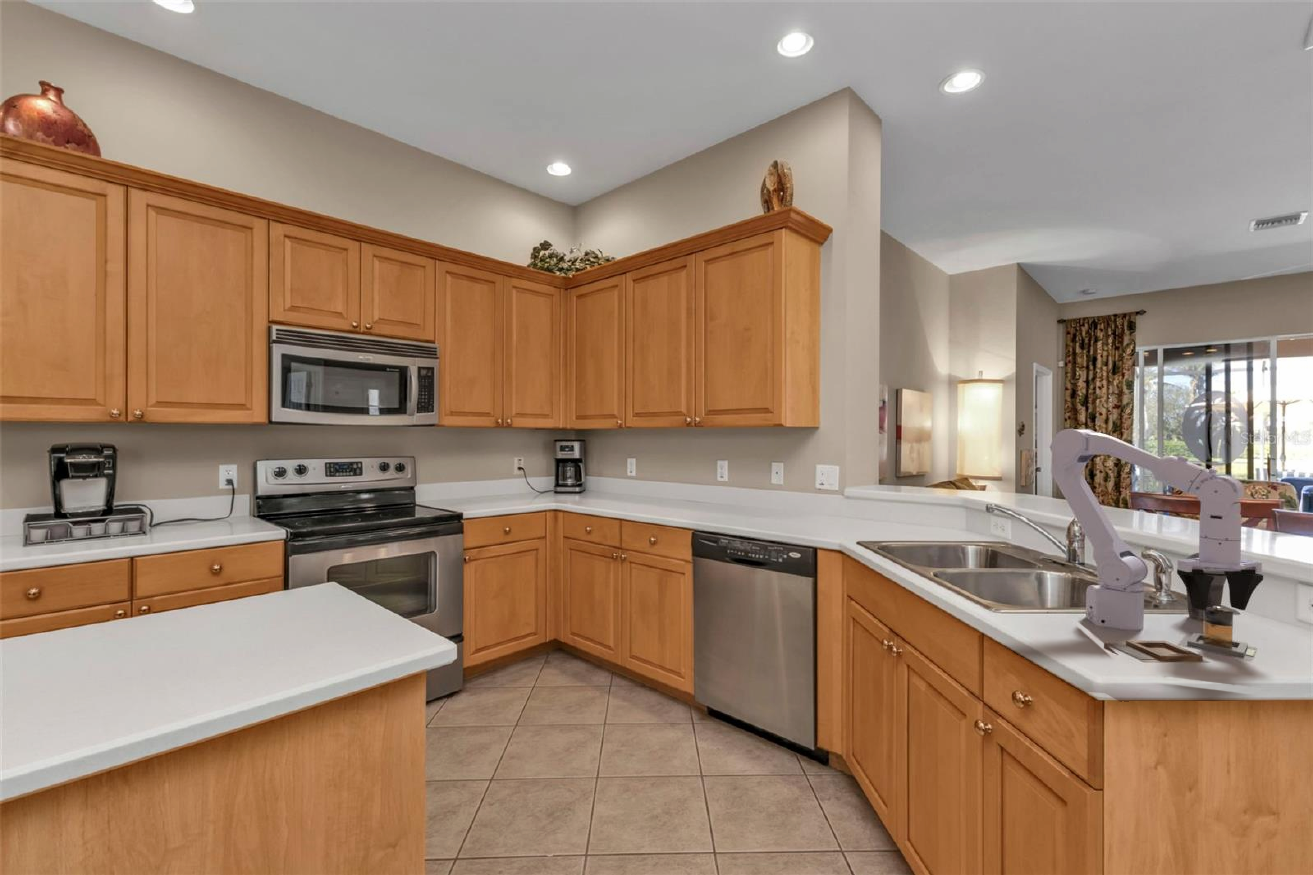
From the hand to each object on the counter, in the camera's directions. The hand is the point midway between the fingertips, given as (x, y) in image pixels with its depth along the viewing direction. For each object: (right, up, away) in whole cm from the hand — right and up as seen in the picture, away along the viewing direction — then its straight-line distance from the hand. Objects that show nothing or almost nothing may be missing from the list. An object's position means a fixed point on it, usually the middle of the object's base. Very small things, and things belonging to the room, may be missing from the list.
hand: (1218, 608), depth 110 cm
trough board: (-15, -8, -3) cm, 17 cm away
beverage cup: (+13, -8, +17) cm, 23 cm away
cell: (0, -7, 0) cm, 7 cm away
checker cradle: (0, -8, 0) cm, 8 cm away
